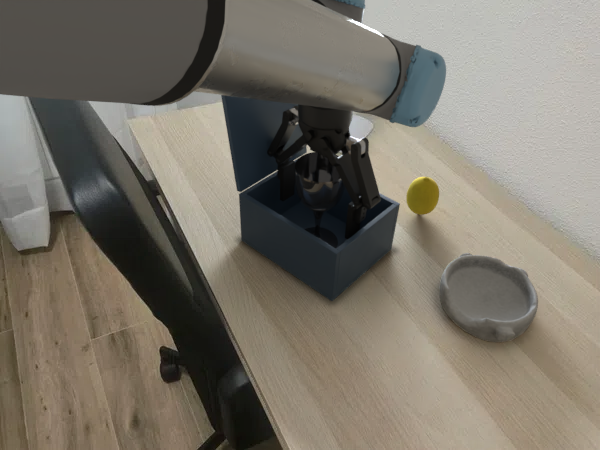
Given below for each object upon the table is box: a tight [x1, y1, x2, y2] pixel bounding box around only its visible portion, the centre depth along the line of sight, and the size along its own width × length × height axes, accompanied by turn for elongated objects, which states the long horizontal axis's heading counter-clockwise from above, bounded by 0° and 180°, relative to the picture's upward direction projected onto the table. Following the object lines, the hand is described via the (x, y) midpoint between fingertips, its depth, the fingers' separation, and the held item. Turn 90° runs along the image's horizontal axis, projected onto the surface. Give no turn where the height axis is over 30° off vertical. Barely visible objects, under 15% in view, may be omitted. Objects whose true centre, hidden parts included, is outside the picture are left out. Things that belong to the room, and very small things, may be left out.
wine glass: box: [295, 151, 345, 249], centre depth 86 cm, size 8×8×15 cm
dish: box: [438, 252, 539, 343], centre depth 81 cm, size 14×14×5 cm
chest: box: [238, 157, 401, 302], centre depth 89 cm, size 20×16×10 cm
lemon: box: [405, 176, 440, 216], centre depth 96 cm, size 6×6×8 cm
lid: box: [220, 95, 308, 193], centre depth 86 cm, size 20×16×8 cm
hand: (318, 215), depth 87 cm, fingers open, 13 cm apart
